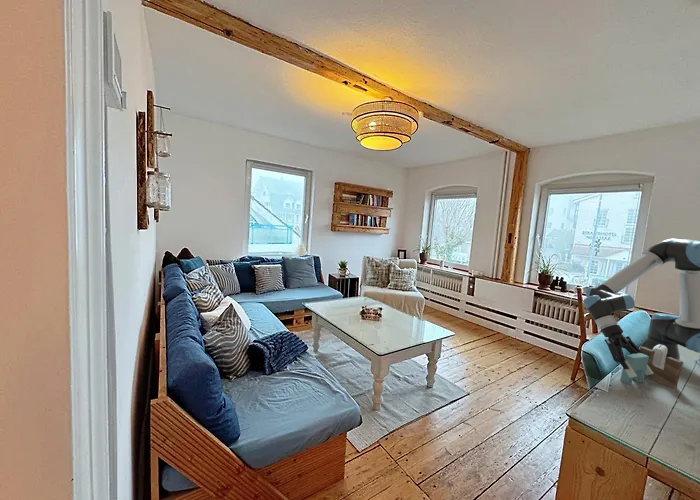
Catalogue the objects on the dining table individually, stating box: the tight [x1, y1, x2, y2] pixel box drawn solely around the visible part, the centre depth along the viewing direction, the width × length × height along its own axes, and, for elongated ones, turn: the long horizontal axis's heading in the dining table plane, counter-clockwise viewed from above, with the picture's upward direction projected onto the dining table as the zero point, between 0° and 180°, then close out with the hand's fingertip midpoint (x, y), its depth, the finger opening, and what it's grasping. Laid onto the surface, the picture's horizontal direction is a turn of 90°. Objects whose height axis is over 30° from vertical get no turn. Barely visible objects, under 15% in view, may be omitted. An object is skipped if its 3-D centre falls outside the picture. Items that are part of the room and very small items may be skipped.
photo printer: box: [652, 344, 668, 368], centre depth 145 cm, size 10×4×12 cm, turn 123°
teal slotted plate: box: [620, 353, 649, 384], centre depth 133 cm, size 10×3×12 cm, turn 107°
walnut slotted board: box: [639, 346, 684, 389], centre depth 136 cm, size 2×14×12 cm, turn 17°
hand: (641, 375), depth 130 cm, fingers open, 10 cm apart
